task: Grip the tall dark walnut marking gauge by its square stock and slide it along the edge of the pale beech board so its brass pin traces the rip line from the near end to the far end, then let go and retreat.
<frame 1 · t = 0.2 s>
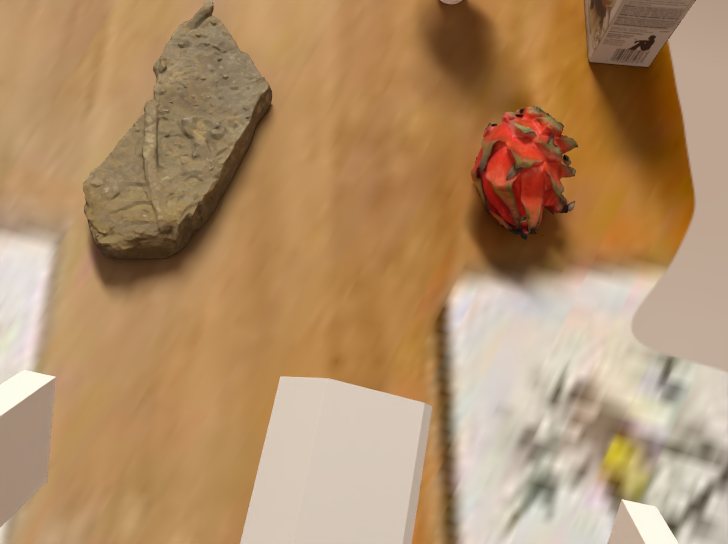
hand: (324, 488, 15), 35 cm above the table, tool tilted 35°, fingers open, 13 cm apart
dragon fruit: (512, 194, 58), on the table
coffee box: (614, 30, 65), on the table
stone slab: (193, 138, 59), on the table
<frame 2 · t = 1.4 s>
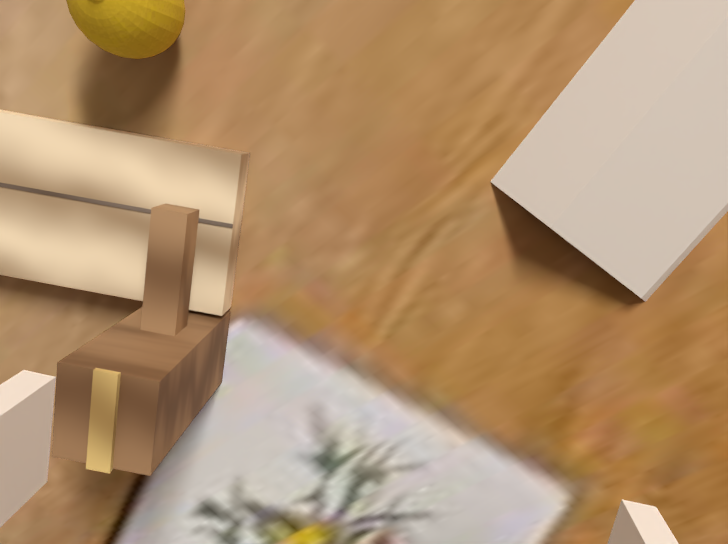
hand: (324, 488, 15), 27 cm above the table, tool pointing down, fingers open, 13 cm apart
board: (64, 200, 42), on the table
gauge: (189, 340, 43), on the table
lemon: (159, 16, 39), on the table
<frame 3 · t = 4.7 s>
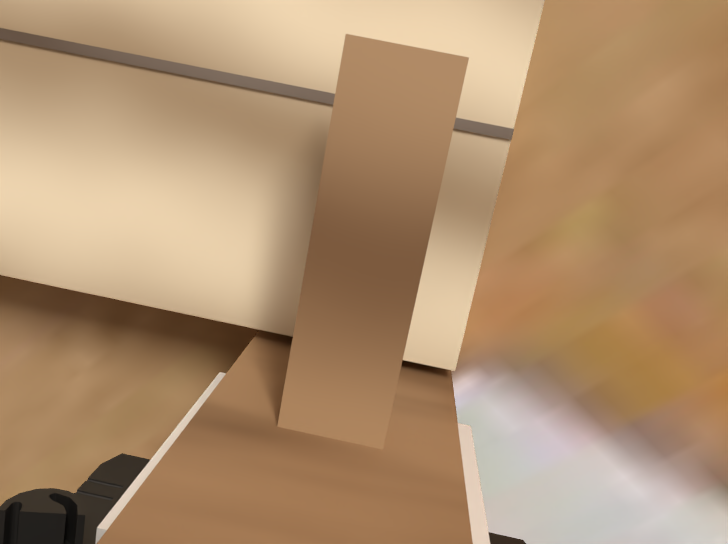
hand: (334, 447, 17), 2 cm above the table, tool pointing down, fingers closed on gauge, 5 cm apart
board: (57, 73, 17), on the table
gauge: (342, 416, 18), on the table, touching gripper
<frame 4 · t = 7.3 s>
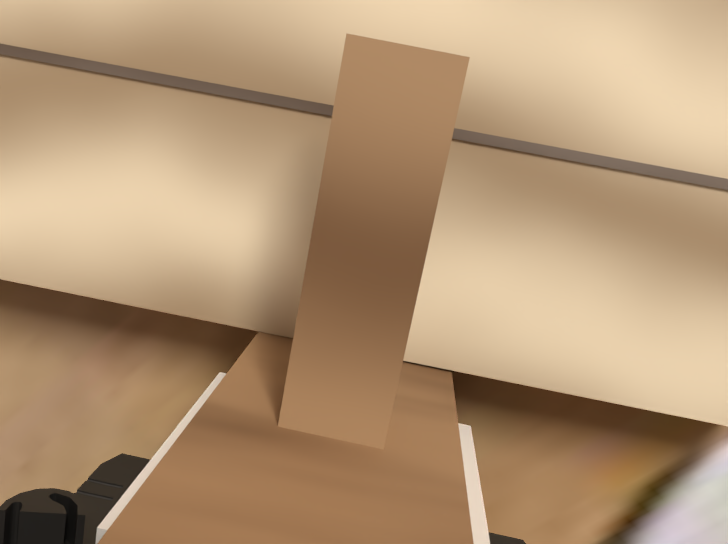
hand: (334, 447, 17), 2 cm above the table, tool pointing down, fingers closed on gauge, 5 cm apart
board: (362, 143, 17), on the table
gauge: (343, 416, 18), point 1 cm above the table, touching gripper
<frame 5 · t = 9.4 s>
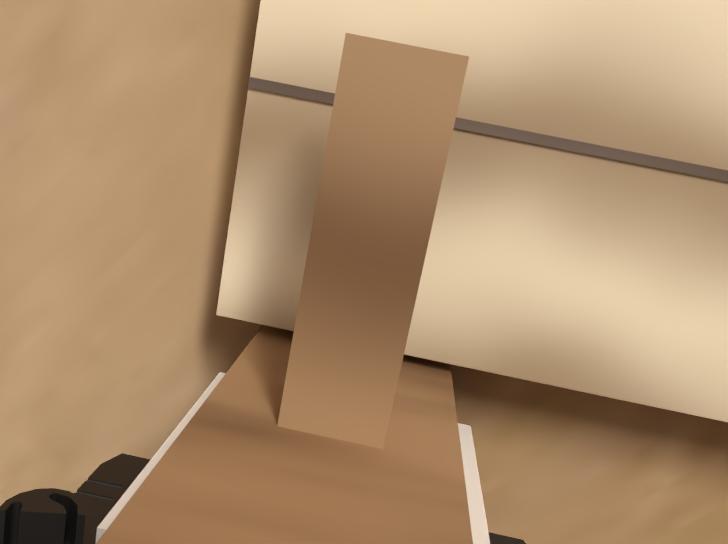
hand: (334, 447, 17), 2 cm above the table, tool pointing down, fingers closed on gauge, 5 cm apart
board: (702, 200, 17), on the table
gauge: (342, 416, 18), on the table, touching gripper
when the fingers open (2 cm above the table, at t = 10.3 s): gauge stays where it is, on the table.
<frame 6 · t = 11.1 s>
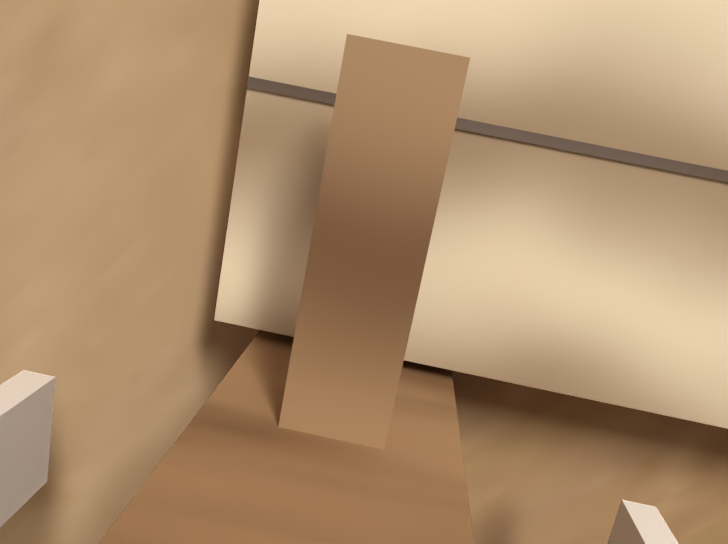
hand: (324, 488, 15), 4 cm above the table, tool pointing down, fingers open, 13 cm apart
board: (712, 203, 16), on the table
gauge: (343, 416, 18), on the table
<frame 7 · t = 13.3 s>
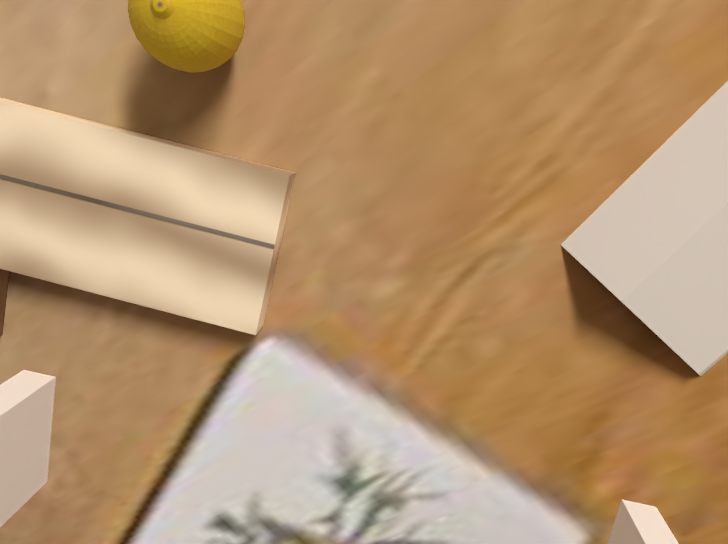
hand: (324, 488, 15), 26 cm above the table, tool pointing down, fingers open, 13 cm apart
board: (102, 205, 41), on the table
lemon: (214, 27, 38), on the table
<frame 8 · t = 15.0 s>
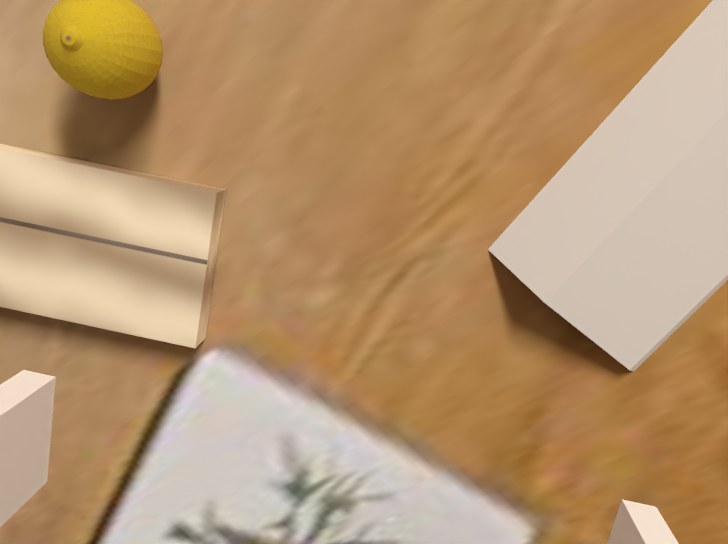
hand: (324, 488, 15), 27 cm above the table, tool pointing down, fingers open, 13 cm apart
board: (43, 230, 42), on the table
lemon: (138, 54, 39), on the table
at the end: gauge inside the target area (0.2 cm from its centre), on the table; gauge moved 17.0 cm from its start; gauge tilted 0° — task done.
